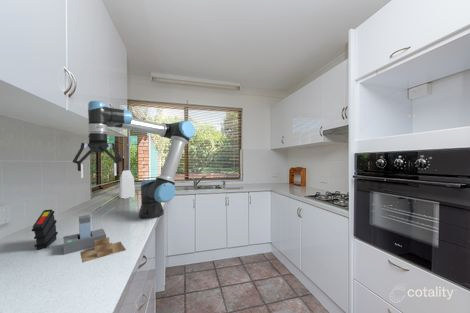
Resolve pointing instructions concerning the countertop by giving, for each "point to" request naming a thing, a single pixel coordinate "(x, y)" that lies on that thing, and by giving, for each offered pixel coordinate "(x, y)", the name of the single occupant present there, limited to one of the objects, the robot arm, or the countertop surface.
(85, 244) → the port box
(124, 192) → the milk
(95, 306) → the countertop surface
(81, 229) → the plug
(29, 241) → the countertop surface
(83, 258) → the holster
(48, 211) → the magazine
